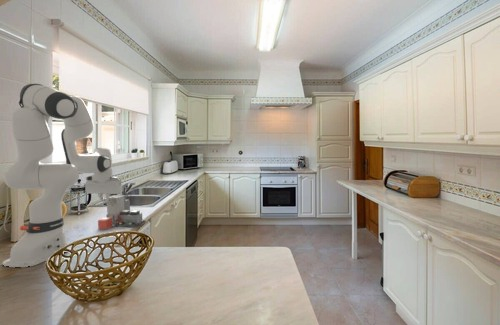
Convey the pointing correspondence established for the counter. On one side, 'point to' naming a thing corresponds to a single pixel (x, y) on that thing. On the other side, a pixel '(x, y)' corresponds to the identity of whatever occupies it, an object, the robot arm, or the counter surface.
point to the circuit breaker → (116, 206)
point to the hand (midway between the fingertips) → (104, 201)
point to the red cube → (104, 223)
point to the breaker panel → (129, 220)
